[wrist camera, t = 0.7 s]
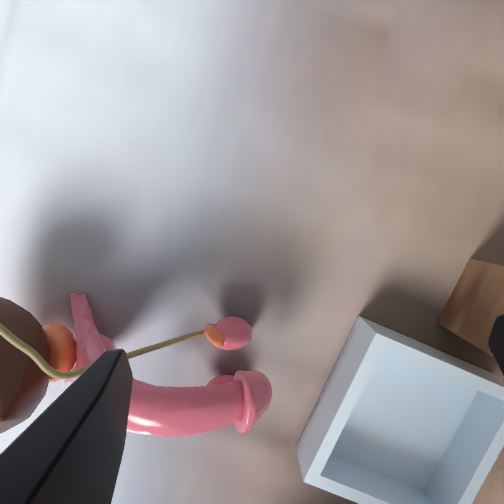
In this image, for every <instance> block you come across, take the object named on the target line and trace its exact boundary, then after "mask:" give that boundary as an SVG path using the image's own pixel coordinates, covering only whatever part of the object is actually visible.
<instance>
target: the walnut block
mask: <svg viewBox="0 0 504 504" xmlns="http://www.w3.org/2000/svg"><path fill="white" fill-rule="evenodd" d="M501 314H504V266H502V265H498V264H493V263H489V262H485V261H480V260H476V259H471V258H470V260H469V262H468V264H467V265H466V267H465V269H464V271H463V273H462V275H461V277H460V279H459V281H458V283H457V285H456V287H455V289H454V291H453V293H452V295H451V297H450V299H449V301H448V303H447V305H446V307H445V309H444V311H443V313H442V315H441V317H440V319H439V320H438V322H437V323H438V324H439V325H441V326H443V327H444V328H446V329H448V330H449V331H451V332H452V333H454V334H456V335H457V336H459V337H461V338H462V339H464V340H466V341H467V342H469V343H470V344H472V345H474V346H475V347H477V348H479V349H480V350H482V351H484V352H485V353H487V354H488V355H490V356H492V357H493V355H492V353H491V351H490V349H489V346H488V338H489V335H490V332H491V329H492V327H493V324H494V321H495V319H496V317H497V316H498V315H501ZM493 358H494V357H493Z"/></svg>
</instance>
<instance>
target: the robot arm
mask: <svg viewBox="0 0 504 504" xmlns="http://www.w3.org/2000/svg"><path fill="white" fill-rule="evenodd" d="M488 346H489V349H490V351H491V353H492V355H493V357H494V359H495V361H496V362H497V364H498V366H499V368H500V370H501V372H502V373H503V375H504V314H501V315H498V316H497V317H496V319H495V321H494V324H493V327H492V329H491V332H490V335H489V338H488ZM132 384H133V376H132V371H131V368H130V365H129V361H128V358H127V355H126V352H125V351H124V350H123V349H114V350H107V351H105V352H104V353H102V354H101V355H100V356H99V357H98V358H97V359H96V360H95V361H94V362H93V363H92V364H91V365H90V366H89V367H88V368H87V369H86V370H85V371H84V372H83V373H82V374H81V375H80V376H79V377H78V378H77V379H76V380H75V381H74V382H73V383H72V384H71V385H70V386H69V387H68V388H67V389H66V390H65V391H64V392H63V393H62V394H61V395H60V396H59V397H58V398H57V399H56V400H55V401H54V402H53V403H52V404H51V405H50V406H49V407H48V408H47V409H46V410H45V411H44V412H43V413H42V414H41V415H40V416H39V417H38V418H37V419H36V420H35V421H34V422H33V423H32V424H31V425H30V426H29V427H28V428H27V429H26V430H25V431H24V432H22V433H21V434H20V435H19V436H18V437H17V438H16V439H15V440H14V441H13V442H12V443H11V444H10V445H9V446H8V447H7V448H6V449H5V450H4V451H3V452H2V453H1V454H0V504H111V501H112V497H113V493H114V488H115V484H116V480H117V476H118V472H119V468H120V464H121V459H122V455H123V450H124V445H125V438H126V431H127V423H128V415H129V407H130V400H131V392H132Z"/></svg>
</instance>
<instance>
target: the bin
mask: <svg viewBox="0 0 504 504" xmlns="http://www.w3.org/2000/svg"><path fill="white" fill-rule="evenodd" d="M503 446H504V380H502V379H501V378H499V377H498V376H496V375H495V374H493V373H491V372H489V371H487V370H484V369H482V368H480V367H477V366H475V365H473V364H470V363H468V362H466V361H463V360H461V359H459V358H456V357H454V356H452V355H449V354H447V353H445V352H442V351H440V350H438V349H435V348H433V347H431V346H428V345H426V344H424V343H421V342H419V341H417V340H414V339H412V338H410V337H407V336H405V335H403V334H400V333H398V332H396V331H393V330H391V329H388V328H386V327H384V326H381V325H379V324H377V323H374V322H372V321H370V320H367V319H365V318H363V317H360V316H358V318H357V320H356V322H355V325H354V327H353V329H352V331H351V333H350V335H349V337H348V339H347V341H346V343H345V345H344V347H343V349H342V351H341V354H340V356H339V358H338V360H337V362H336V364H335V366H334V368H333V370H332V372H331V374H330V376H329V378H328V381H327V383H326V385H325V387H324V389H323V391H322V393H321V395H320V397H319V399H318V401H317V403H316V405H315V407H314V410H313V412H312V414H311V416H310V418H309V420H308V422H307V424H306V426H305V428H304V430H303V432H302V434H301V436H300V439H299V441H298V443H297V445H296V449H297V454H298V459H299V464H300V469H301V474H302V479H303V482H305V483H308V484H310V485H313V486H315V487H318V488H320V489H323V490H325V491H328V492H330V493H333V494H336V495H338V496H341V497H343V498H346V499H348V500H351V501H353V502H356V503H358V504H472V502H473V501H474V499H475V497H476V495H477V493H478V491H479V490H480V488H481V486H482V484H483V482H484V481H485V479H486V477H487V475H488V473H489V472H490V470H491V468H492V466H493V464H494V463H495V461H496V459H497V457H498V455H499V453H500V452H501V450H502V448H503Z"/></svg>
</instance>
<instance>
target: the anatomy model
mask: <svg viewBox="0 0 504 504" xmlns="http://www.w3.org/2000/svg"><path fill="white" fill-rule="evenodd" d="M71 307H72V316H73V322H74V328H75V335H76V339H75V337H74V335H73V334H72V333H71V332H70V330H69V329H67V328H66V327H65V326H63V325H61V324H59V323H49V324H46V325H44V326H43V327H42V326H41V325H40V323H39V322H38V321H37V320H36V319H35V318H34V317H33V316H32V314H31V313H30V312H28V311H27V310H25V309H23V308H22V307H20V306H19V305H17V304H15V303H14V302H12V301H10V300H8V299H5V298H2V297H0V434H1V433H3V432H5V431H7V430H8V429H10V428H12V427H14V426H16V425H18V424H19V423H21V422H23V421H25V420H26V419H27V418H29V417H30V416H31V414H32V413H33V412H34V410H35V409H36V407H37V406H38V404H39V403H40V402H41V400H42V399H43V397H44V396H45V394H46V390H47V387H48V383H49V382H56V381H59V380H61V379H66V381H65V383H66V382H67V383H68V382H74V381H75V380H76V379H77V378H78V377H79V376H80V375H81V374H82V373H83V372H84V371H85V370H86V369H87V368H88V367H89V366H90V365H91V364H92V363H93V362H94V361H95V360H96V359H97V358H98V357H99V356H100V355H101V354H102V353H104V352H105V351H107V350H114V349H116V347H115V346H114V344H113V343H112V342H111V341H110V340H109V339H108V338H107V337H106V336H104V335H102V334H101V333H99V332H98V330H97V328H96V326H95V323H94V319H93V316H92V313H91V309H90V306H89V304H88V301H87V298H86V295H85V293H83V294H81V295H80V294H77V293H75V292H72V293H71ZM202 335H205V336H206V337H207V339H208V340H209V341H210V342H211V343H212V344H213V345H214V346H215V347H218V348H220V349H223V350H236V349H239V348H242V347H244V346H245V345H247V344H248V343H249V342H250V341H251V339H252V330H251V326H250V325H249V324H248V322H247V321H246V320H244V319H242V318H240V317H236V316H229V317H225V318H223V319H221V320H219V321H218V322H216V323H215V324H209V323H207V326H206V328H205V330H202V331H198V332H194V333H191V334H187V335H183V336H180V337H177V338H174V339H170V340H167V341H164V342H161V343H158V344H155V345H151V346H148V347H145V348H142V349H138V350H135V351H132V352H129V353H126V355H127V358H128V359H129V358H132V357H135V356H138V355H141V354H144V353H147V352H150V351H154V350H157V349H160V348H163V347H166V346H169V345H172V344H175V343H178V342H181V341H184V340H188V339H191V338H195V337H198V336H202ZM76 360H77V362H76ZM75 362H76V367H75V369H74V371H71V369H72V368H73V366H74V364H75ZM70 371H71V372H70ZM271 398H272V387H271V384H270V381H269V379H268V378H267V377H266V376H265V374H263V373H262V372H260V371H241V370H239V371H237V372H236V373H235V375H234V376H232V375H220V376H218V377H215V378H213V379H212V380H211V381H209V383H208V384H207V386H200V387H166V386H155V385H151V384H148V383H145V382H142V381H138V380H136V379H134V378H133V384H132V392H131V400H130V407H129V415H128V423H127V431H129V432H134V433H138V434H149V435H154V436H163V437H184V436H191V435H196V434H201V433H206V432H210V431H213V430H216V429H219V428H222V427H226V426H229V425H231V424H234V423H235V426H236V428H237V430H238V432H240V433H244V432H247V431H248V430H249V429H251V427H252V426H253V425H254V424H255V422H256V420H257V419H258V418H259V417H260V416H261V415H262V414H263V413H264V412H265V411H266V410H267V409H268V407H269V405H270V402H271Z"/></svg>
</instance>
